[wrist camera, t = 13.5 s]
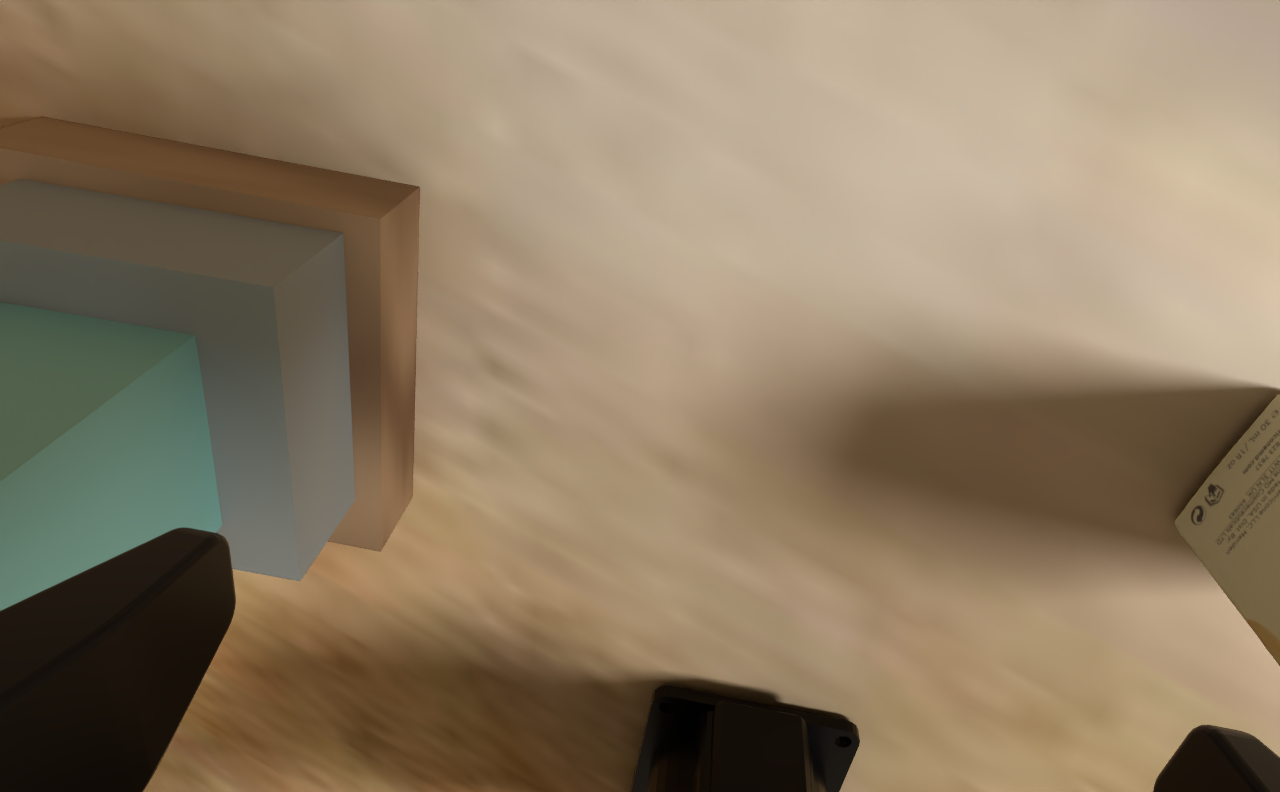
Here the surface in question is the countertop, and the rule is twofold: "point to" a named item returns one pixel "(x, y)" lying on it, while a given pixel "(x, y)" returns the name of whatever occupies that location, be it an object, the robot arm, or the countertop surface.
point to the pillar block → (95, 444)
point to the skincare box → (1244, 526)
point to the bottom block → (295, 195)
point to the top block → (215, 342)
